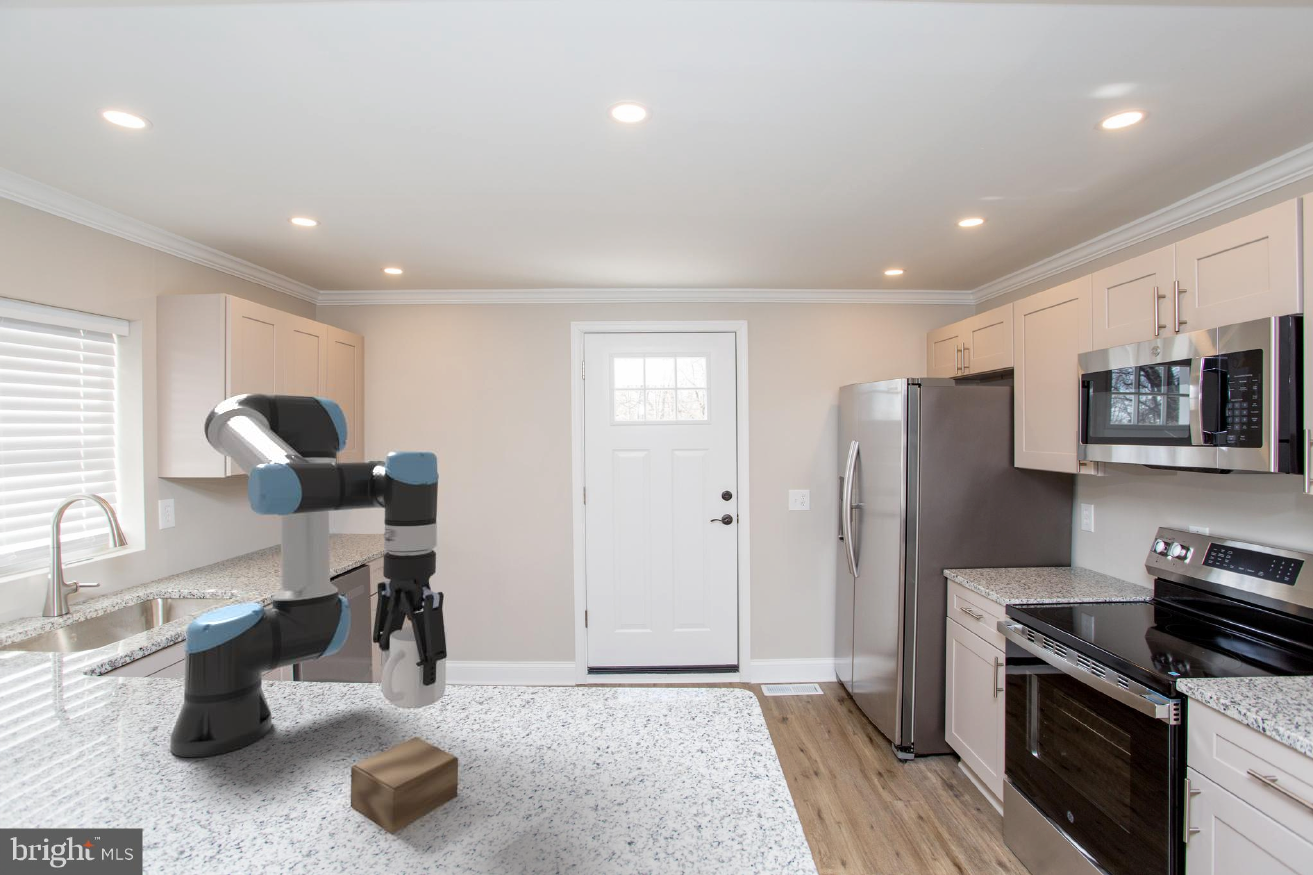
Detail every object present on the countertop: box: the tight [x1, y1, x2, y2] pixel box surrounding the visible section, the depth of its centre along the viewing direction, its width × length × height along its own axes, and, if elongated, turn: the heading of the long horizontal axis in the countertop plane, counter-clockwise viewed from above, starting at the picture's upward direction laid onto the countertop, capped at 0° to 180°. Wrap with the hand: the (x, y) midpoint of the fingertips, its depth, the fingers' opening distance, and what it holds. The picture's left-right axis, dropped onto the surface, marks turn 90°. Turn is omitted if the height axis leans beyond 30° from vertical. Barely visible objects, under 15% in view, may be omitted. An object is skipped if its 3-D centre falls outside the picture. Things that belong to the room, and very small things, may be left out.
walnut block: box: [350, 736, 459, 835], centre depth 91 cm, size 11×11×6 cm
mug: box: [380, 625, 448, 709], centre depth 90 cm, size 12×8×10 cm
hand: (407, 697), depth 91 cm, fingers closed on mug, 8 cm apart
